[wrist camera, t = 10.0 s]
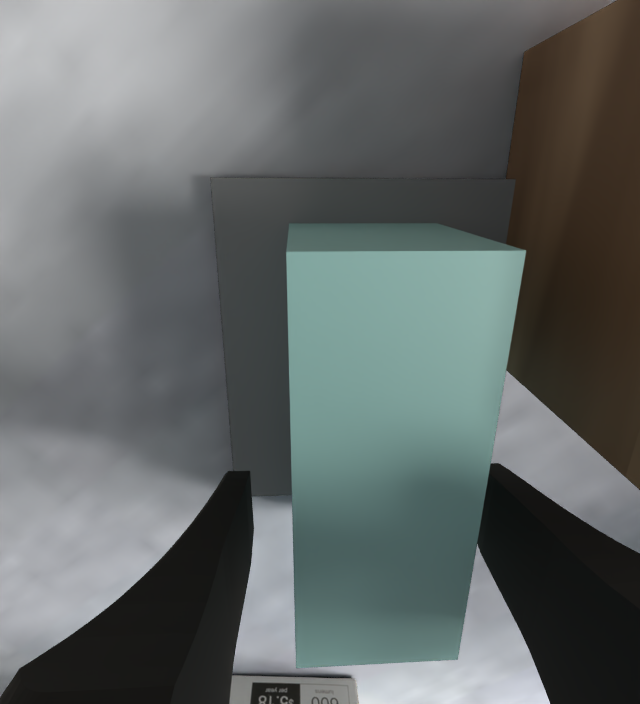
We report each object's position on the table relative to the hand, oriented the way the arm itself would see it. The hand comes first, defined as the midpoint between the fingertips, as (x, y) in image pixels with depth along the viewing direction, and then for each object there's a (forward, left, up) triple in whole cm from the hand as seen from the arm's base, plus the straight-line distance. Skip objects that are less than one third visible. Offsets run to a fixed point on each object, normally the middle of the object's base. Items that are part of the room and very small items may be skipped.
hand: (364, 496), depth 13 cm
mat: (0, -4, -3) cm, 4 cm away
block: (0, -2, -2) cm, 3 cm away
